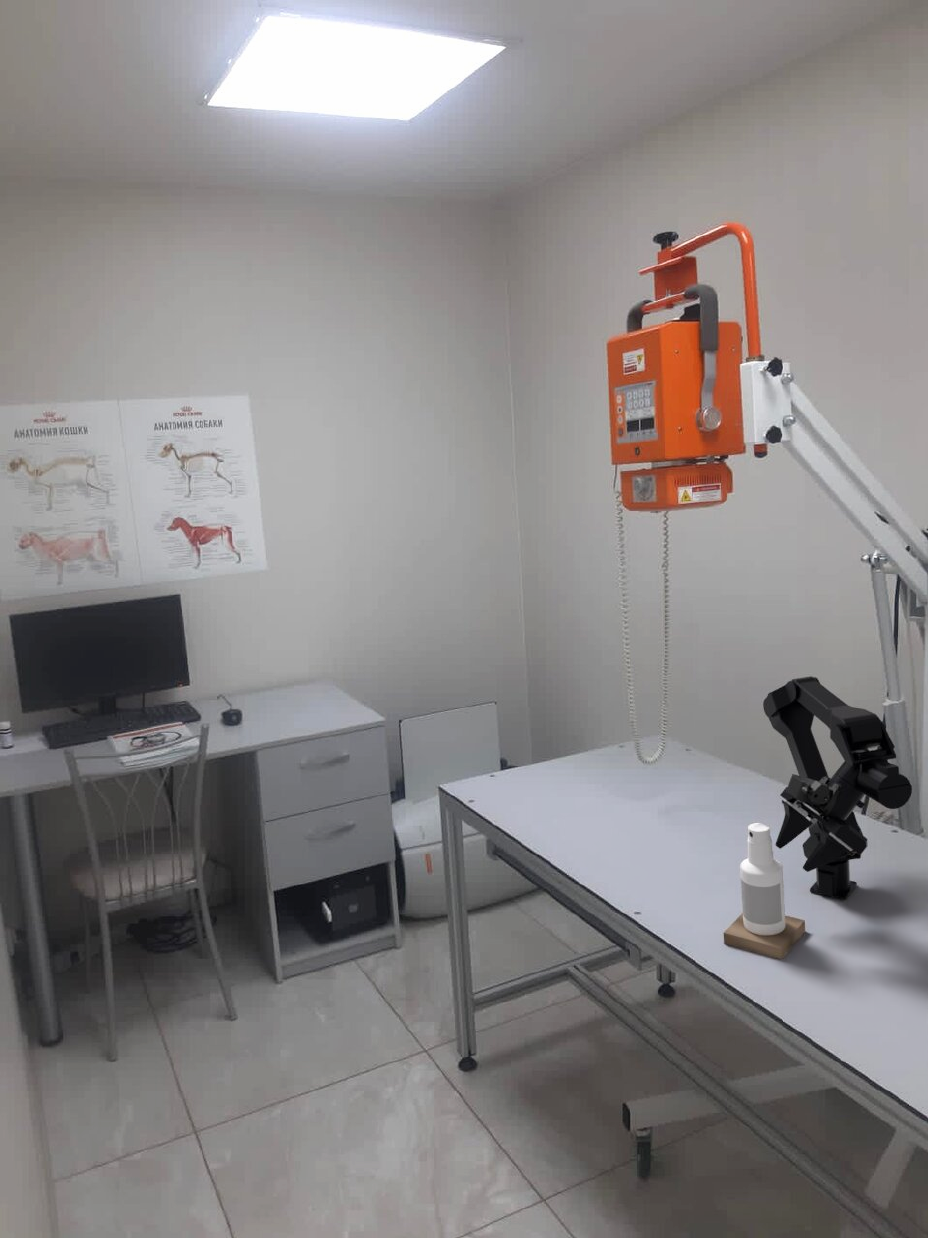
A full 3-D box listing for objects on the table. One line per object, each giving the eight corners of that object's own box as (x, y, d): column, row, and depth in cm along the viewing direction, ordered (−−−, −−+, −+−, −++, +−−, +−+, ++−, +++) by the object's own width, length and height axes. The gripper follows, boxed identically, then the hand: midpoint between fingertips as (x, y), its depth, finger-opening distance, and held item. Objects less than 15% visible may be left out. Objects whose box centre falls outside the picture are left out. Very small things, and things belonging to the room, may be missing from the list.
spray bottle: (735, 923, 167) (728, 825, 164) (767, 911, 170) (761, 815, 166) (761, 941, 161) (755, 839, 157) (794, 929, 163) (789, 829, 160)
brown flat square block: (749, 916, 173) (748, 906, 172) (805, 931, 166) (804, 920, 166) (724, 943, 165) (723, 933, 165) (781, 959, 159) (781, 948, 158)
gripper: (788, 741, 170) (732, 811, 170) (847, 777, 152) (784, 856, 152) (831, 776, 173) (776, 845, 173) (895, 816, 154) (833, 893, 155)
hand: (790, 858), depth 163 cm, fingers open, 9 cm apart
